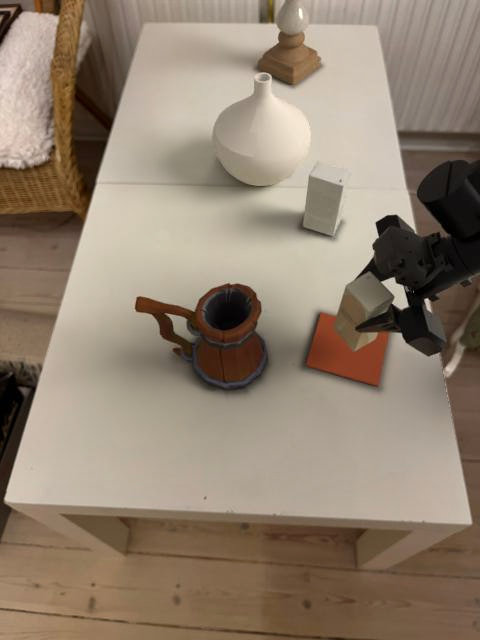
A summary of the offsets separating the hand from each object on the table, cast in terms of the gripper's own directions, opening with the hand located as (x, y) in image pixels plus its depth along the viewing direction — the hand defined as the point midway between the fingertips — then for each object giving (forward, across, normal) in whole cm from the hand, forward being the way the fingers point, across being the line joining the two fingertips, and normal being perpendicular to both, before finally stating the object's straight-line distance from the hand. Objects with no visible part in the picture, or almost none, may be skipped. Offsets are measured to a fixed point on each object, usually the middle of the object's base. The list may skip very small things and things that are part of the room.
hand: (352, 309), depth 66 cm
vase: (+15, -42, +1) cm, 44 cm away
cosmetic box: (+8, -26, +8) cm, 28 cm away
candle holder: (+9, -77, +7) cm, 78 cm away
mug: (+22, 0, -6) cm, 23 cm away
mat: (+7, 0, +9) cm, 11 cm away
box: (+4, 0, +6) cm, 7 cm away
